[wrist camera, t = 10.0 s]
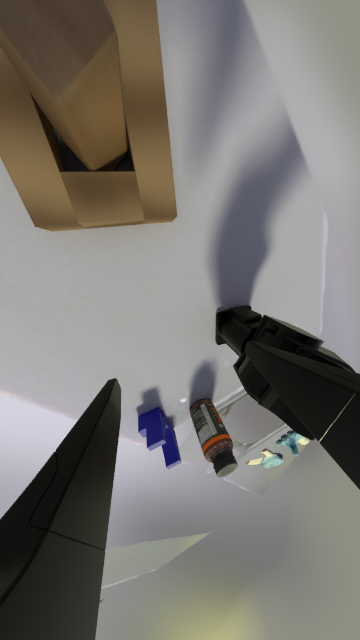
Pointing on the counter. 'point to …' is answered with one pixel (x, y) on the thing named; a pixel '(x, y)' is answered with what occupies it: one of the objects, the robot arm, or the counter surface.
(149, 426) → the cable clip
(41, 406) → the counter surface
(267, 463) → the rubber gloves
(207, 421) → the supplement bottle
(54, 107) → the wooden block
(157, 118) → the socket collar
